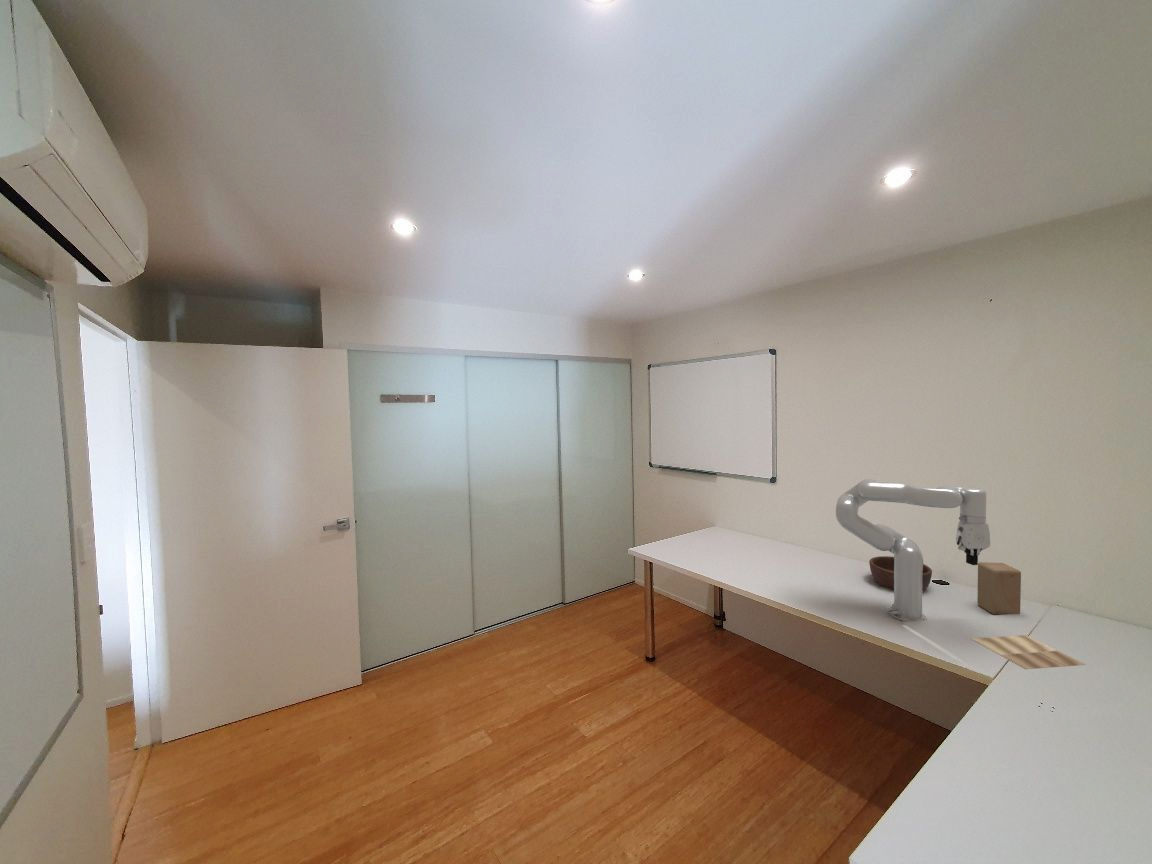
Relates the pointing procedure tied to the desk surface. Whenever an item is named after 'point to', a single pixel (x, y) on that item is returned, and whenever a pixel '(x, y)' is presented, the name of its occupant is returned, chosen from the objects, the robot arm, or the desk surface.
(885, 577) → the wooden bowl
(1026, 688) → the desk surface
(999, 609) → the wooden block
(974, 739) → the desk surface
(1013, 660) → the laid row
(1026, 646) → the board
